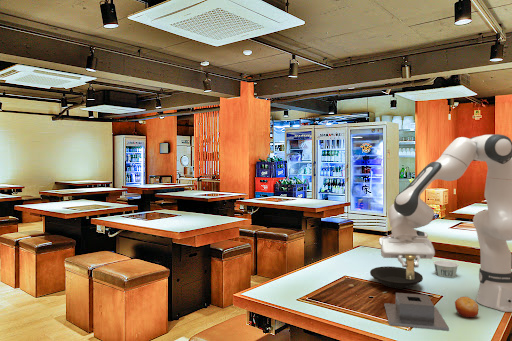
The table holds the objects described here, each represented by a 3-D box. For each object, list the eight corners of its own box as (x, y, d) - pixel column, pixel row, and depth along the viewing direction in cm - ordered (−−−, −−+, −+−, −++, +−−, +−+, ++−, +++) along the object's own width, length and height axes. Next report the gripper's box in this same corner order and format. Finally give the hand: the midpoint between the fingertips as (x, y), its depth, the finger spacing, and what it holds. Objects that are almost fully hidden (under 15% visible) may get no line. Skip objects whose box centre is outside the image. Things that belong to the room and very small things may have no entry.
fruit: (467, 306, 153) (473, 293, 148) (477, 323, 146) (484, 309, 142) (447, 306, 152) (453, 293, 148) (457, 323, 146) (463, 310, 141)
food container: (452, 272, 206) (452, 260, 206) (462, 279, 194) (462, 266, 194) (429, 272, 207) (429, 260, 207) (438, 278, 195) (438, 266, 195)
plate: (429, 296, 168) (429, 284, 168) (373, 293, 173) (373, 281, 172) (415, 278, 195) (415, 267, 195) (367, 275, 200) (367, 265, 200)
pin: (414, 277, 149) (414, 254, 149) (416, 280, 145) (416, 257, 145) (404, 276, 150) (404, 254, 150) (405, 279, 146) (405, 256, 146)
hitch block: (436, 309, 153) (436, 292, 153) (449, 330, 133) (449, 311, 133) (384, 305, 158) (384, 288, 157) (389, 325, 138) (389, 306, 138)
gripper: (379, 232, 155) (384, 261, 146) (431, 232, 153) (439, 263, 143) (377, 240, 160) (381, 270, 150) (427, 241, 157) (435, 271, 148)
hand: (410, 266), depth 147 cm, fingers closed on pin, 3 cm apart
